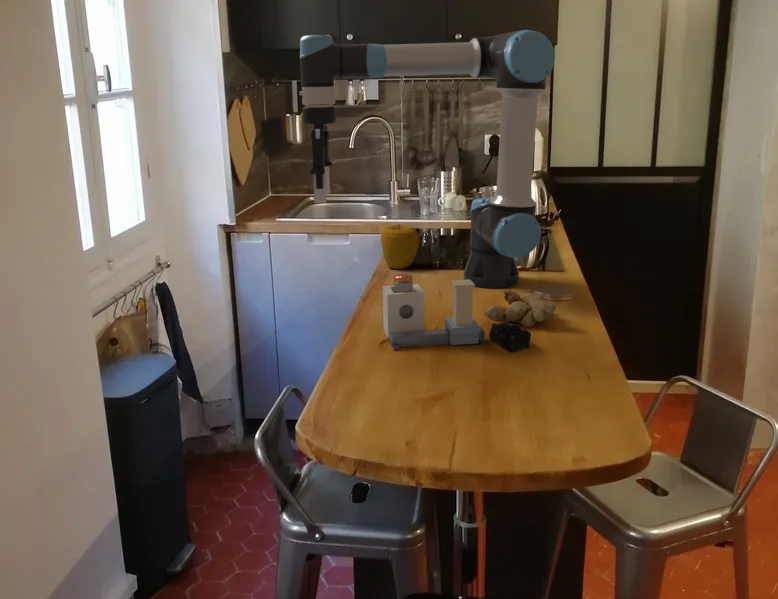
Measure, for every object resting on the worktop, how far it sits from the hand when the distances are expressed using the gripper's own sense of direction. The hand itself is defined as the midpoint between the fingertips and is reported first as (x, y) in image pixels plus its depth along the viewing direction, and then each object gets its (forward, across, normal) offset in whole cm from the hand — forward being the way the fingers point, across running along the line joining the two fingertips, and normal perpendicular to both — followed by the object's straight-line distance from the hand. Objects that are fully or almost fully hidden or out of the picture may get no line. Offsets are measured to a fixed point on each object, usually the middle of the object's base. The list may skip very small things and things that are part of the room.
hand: (322, 198), depth 187 cm
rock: (+28, +28, +40) cm, 57 cm away
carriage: (+27, +26, +31) cm, 49 cm away
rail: (+27, +27, +25) cm, 46 cm away
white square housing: (+27, +20, +18) cm, 38 cm away
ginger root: (+28, +12, +46) cm, 56 cm away
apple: (+28, -40, +19) cm, 52 cm away
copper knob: (+20, +20, +18) cm, 34 cm away
